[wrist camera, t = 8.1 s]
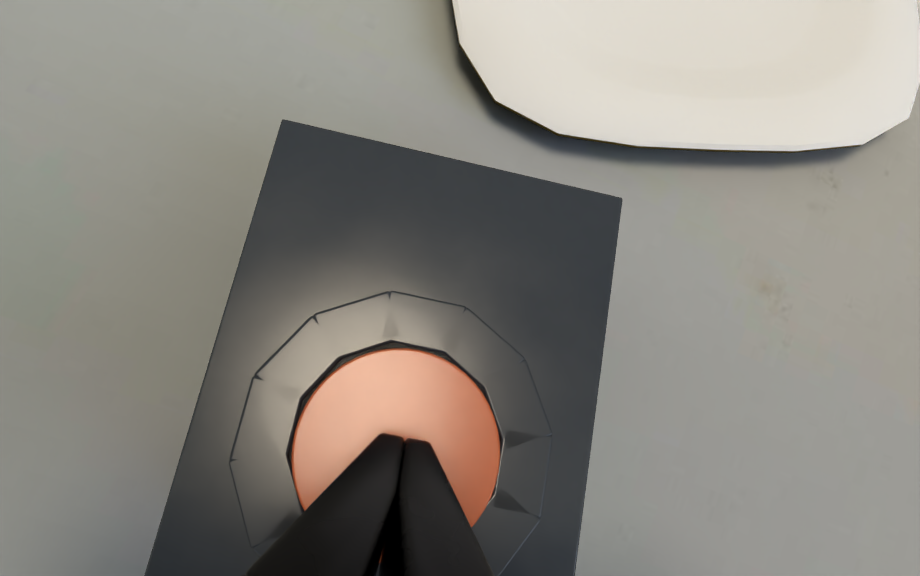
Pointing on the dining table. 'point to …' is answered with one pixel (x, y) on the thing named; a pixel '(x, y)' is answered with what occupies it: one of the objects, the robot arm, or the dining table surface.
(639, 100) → the plate
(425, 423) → the button
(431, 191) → the control block
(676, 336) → the dining table surface
